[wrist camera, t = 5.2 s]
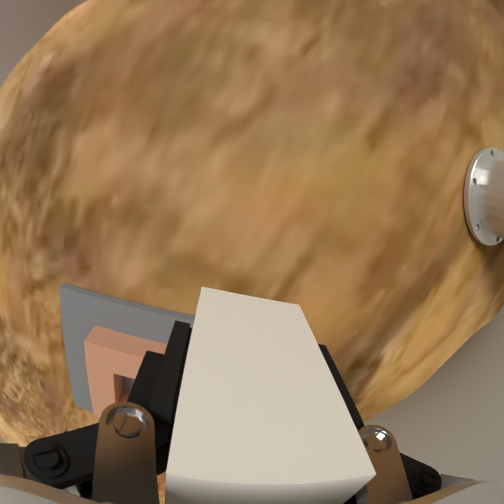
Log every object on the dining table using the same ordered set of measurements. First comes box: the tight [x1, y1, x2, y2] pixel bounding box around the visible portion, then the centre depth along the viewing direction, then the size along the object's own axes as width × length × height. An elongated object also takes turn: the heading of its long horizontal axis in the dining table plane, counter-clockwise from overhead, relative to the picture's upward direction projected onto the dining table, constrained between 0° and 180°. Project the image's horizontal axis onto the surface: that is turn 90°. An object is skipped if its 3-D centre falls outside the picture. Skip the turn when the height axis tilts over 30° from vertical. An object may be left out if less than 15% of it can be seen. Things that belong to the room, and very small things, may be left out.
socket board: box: [60, 283, 195, 418], centre depth 26 cm, size 20×18×4 cm
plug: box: [165, 287, 376, 504], centre depth 8 cm, size 4×4×8 cm
